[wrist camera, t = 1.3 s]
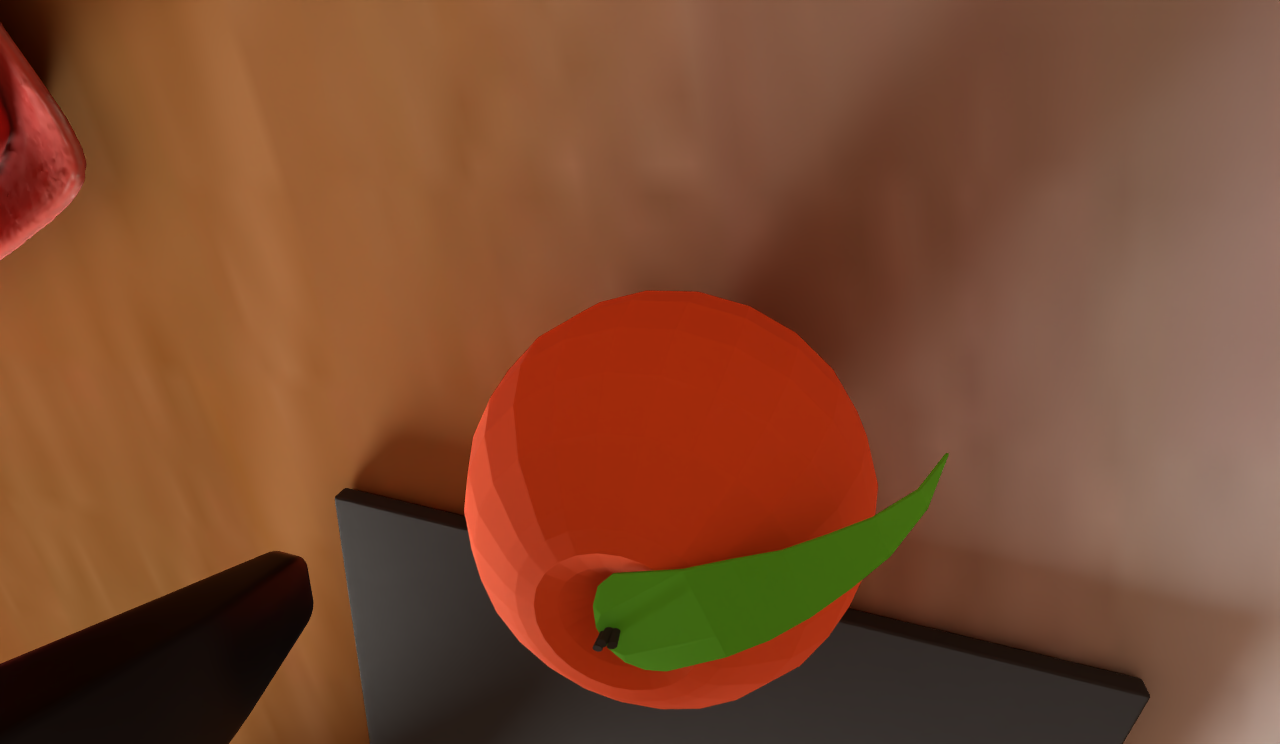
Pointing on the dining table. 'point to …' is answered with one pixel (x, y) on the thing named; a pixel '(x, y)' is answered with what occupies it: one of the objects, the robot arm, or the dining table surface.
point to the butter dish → (32, 151)
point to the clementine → (675, 500)
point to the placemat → (679, 738)
